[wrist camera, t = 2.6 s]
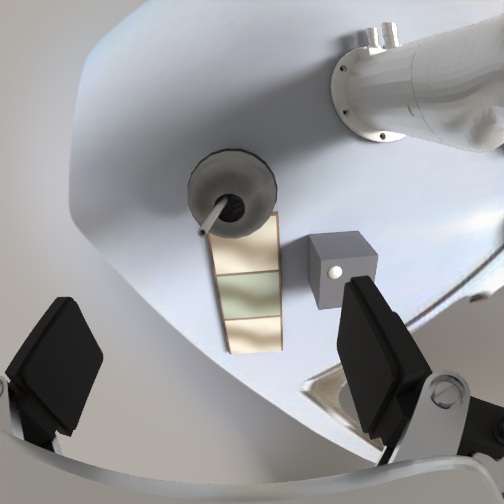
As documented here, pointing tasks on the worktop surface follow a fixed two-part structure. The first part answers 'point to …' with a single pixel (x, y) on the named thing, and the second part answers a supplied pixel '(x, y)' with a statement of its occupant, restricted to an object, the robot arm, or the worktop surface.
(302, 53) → the worktop surface
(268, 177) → the beverage cup
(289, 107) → the worktop surface
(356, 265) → the die
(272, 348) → the game track
